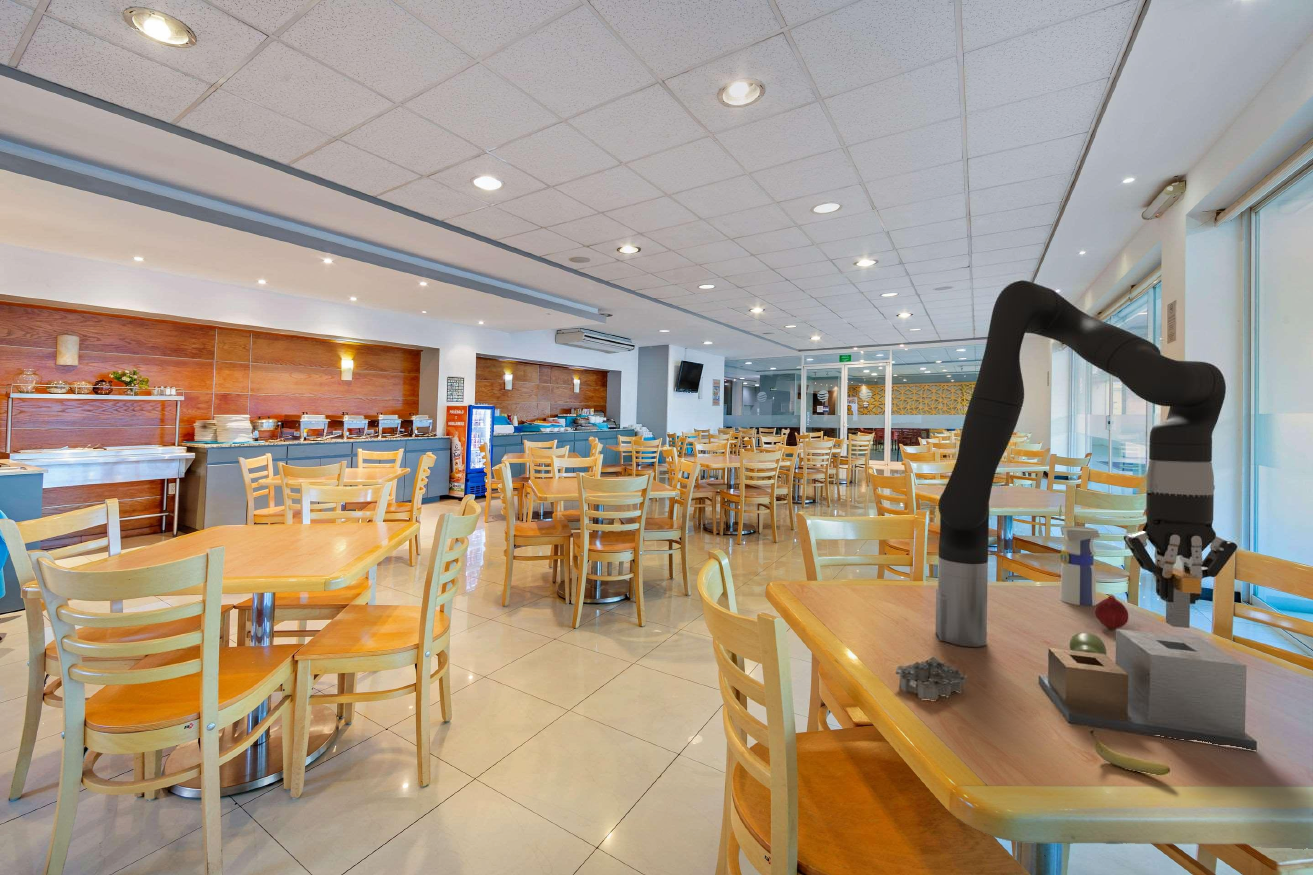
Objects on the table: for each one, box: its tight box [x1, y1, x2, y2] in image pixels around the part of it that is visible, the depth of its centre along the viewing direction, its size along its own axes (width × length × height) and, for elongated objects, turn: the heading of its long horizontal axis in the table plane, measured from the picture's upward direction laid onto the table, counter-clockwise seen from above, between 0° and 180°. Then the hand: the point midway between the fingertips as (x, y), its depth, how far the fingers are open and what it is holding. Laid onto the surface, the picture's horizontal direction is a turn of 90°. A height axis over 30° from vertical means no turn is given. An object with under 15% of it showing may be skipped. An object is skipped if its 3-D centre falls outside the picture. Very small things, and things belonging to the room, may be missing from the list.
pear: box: [1069, 631, 1107, 655], centre depth 105 cm, size 6×5×10 cm
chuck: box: [1038, 628, 1258, 752], centre depth 86 cm, size 22×14×12 cm, turn 71°
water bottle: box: [1058, 505, 1100, 607], centre depth 143 cm, size 8×9×25 cm
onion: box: [1094, 593, 1129, 631], centre depth 123 cm, size 6×6×8 cm
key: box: [1165, 567, 1202, 629], centre depth 84 cm, size 7×2×8 cm, turn 161°
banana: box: [1088, 729, 1171, 776], centre depth 72 cm, size 8×2×4 cm, turn 50°
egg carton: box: [895, 656, 969, 701], centre depth 94 cm, size 11×8×4 cm
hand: (1177, 600), depth 84 cm, fingers closed on key, 2 cm apart
